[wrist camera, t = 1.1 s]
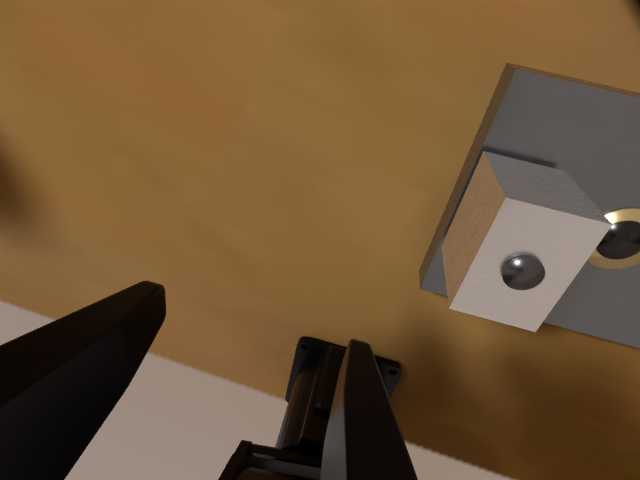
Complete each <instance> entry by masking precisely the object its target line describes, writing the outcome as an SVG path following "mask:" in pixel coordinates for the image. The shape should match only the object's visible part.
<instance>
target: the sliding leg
mask: <svg viewBox="0 0 640 480" xmlns="http://www.w3.org/2000/svg"><path fill="white" fill-rule="evenodd" d="M612 225H613V224H612V223H611V222H610V221H609V220H608V219H607V218H606V216H605V215H604V214H603V213H602V212H601V211H600V210H599V209H598V207H597V206H596V205H595V204H594V203H593V202H592V201H591V200H590V199H589V197H588V196H587V195H586V194H585V193H584V192H583V191H582V190H581V188H580V187H579V186H578V185H577V184H576V183H575V182H574V181H573V179H572V178H571V177H570V176H569V175H568V174H567V173H566V172H565V171H563V170H559V169H555V168H551V167H547V166H543V165H539V164H535V163H530V162H526V161H522V160H518V159H514V158H510V157H506V156H502V155H498V154H494V153H490V152H486V151H483V153H482V156H481V158H480V160H479V162H478V165H477V167H476V169H475V171H474V174H473V176H472V178H471V181H470V183H469V185H468V187H467V190H466V192H465V194H464V196H463V199H462V201H461V203H460V205H459V208H458V210H457V212H456V214H455V217H454V219H453V221H452V224H451V226H450V228H449V230H448V233H447V235H446V237H445V239H444V242H443V244H442V246H441V248H442V256H443V264H444V272H445V280H446V288H447V296H448V304H449V309H453V310H456V311H460V312H464V313H467V314H471V315H475V316H478V317H482V318H486V319H489V320H493V321H497V322H500V323H504V324H508V325H511V326H515V327H519V328H522V329H526V330H530V331H533V332H536V331H537V329H538V328H539V327H540V325H541V324H542V322H543V321H544V320H545V318H546V317H547V315H548V314H549V313H550V311H551V310H552V308H553V307H554V306H555V304H556V303H557V301H558V300H559V299H560V297H561V296H562V295H563V293H564V292H565V290H566V289H567V288H568V286H569V285H570V283H571V282H572V281H573V279H574V278H575V276H576V275H577V274H578V272H579V271H580V269H581V268H582V267H583V265H584V264H585V262H586V261H587V260H588V258H589V257H590V256H591V254H592V253H593V251H594V250H595V249H596V247H597V246H598V244H599V243H600V242H601V240H602V239H603V237H604V236H605V235H606V233H607V232H608V230H609V229H610V228H611V226H612Z"/></svg>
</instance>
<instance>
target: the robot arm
mask: <svg viewBox="0 0 640 480" xmlns="http://www.w3.org/2000/svg"><path fill="white" fill-rule="evenodd" d="M165 316H166V299H165V288H164V286H163V285H161V284H158V283H154V282H151V281H142V282H140V283H137V284H135V285H133V286H131V287H128V288H126V289H124V290H122V291H120V292H117V293H115V294H113V295H111V296H109V297H106V298H104V299H102V300H100V301H98V302H95V303H93V304H91V305H89V306H86V307H84V308H82V309H80V310H78V311H75V312H73V313H71V314H69V315H67V316H64V317H62V318H60V319H58V320H56V321H53V322H51V323H49V324H47V325H44V326H42V327H40V328H38V329H36V330H33V331H31V332H29V333H27V334H25V335H22V336H20V337H18V338H16V339H14V340H11V341H9V342H7V343H5V344H2V345H0V480H64V479H65V478H66V476H67V475H68V473H69V472H70V471H71V469H72V468H73V466H74V465H75V463H76V462H77V460H78V459H79V457H80V456H81V455H82V453H83V452H84V450H85V449H86V447H87V446H88V444H89V443H90V441H91V440H92V439H93V437H94V436H95V434H96V433H97V431H98V430H99V428H100V427H101V426H102V424H103V422H104V421H105V420H106V418H107V417H108V415H109V414H110V412H111V411H112V410H113V408H114V407H115V405H116V403H117V402H118V401H119V399H120V398H121V396H122V395H123V393H124V392H125V390H126V389H127V387H128V386H129V384H130V382H131V381H132V379H133V377H134V375H135V374H136V372H137V370H138V368H139V366H140V365H141V363H142V361H143V359H144V357H145V355H146V353H147V352H148V350H149V348H150V346H151V344H152V342H153V341H154V339H155V337H156V335H157V333H158V331H159V330H160V328H161V326H162V324H163V322H164V319H165ZM305 344H306V345H305ZM391 369H393V370H391ZM400 376H401V365H400V364H399V363H397V362H394V361H391V360H387V359H384V358H380V357H377V356H374V354H373V351H372V349H371V346H370V345H369V344H368V343H366V342H363V341H359V340H356V339H351V340H350V341H349V344H348V346H347V348H345V347H342V346H338V345H335V344H331V343H328V342H324V341H320V340H317V339H313V338H310V337H301V338H300V339H299V341H298V344H297V348H296V353H295V357H294V362H293V366H292V371H291V375H290V380H289V384H288V388H287V393H286V397H285V399H286V401H287V402H288V406H287V409H286V413H285V416H284V419H283V423H282V426H281V429H280V433H279V436H278V440H277V443H276V446H275V448H274V447H268V446H262V445H257V444H252V442H250V441H245V440H242V441H241V442H240V444H239V446H238V448H237V449H236V451H235V453H234V454H233V455H232V456H231V458H230V460H229V462H228V463H227V465H226V467H225V469H224V470H223V472H222V474H221V476H220V478H219V479H218V480H418V479H417V476H416V473H415V470H414V467H413V465H412V462H411V459H410V456H409V453H408V450H407V448H406V445H405V442H404V439H403V436H402V433H401V431H400V428H399V425H398V422H397V419H396V416H395V414H394V411H393V408H392V405H391V402H390V400H389V399H390V397H391V394H392V392H393V390H394V388H395V386H396V384H397V382H398V380H399V378H400Z"/></svg>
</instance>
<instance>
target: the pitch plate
mask: <svg viewBox="0 0 640 480" xmlns="http://www.w3.org/2000/svg"><path fill="white" fill-rule="evenodd" d="M483 151H486V152H490V153H494V154H498V155H502V156H506V157H510V158H514V159H518V160H522V161H526V162H530V163H535V164H539V165H543V166H547V167H551V168H555V169H559V170H563V171H565V172H566V173H567V174H568V175H569V176H570V177H571V178H572V179H573V181H574V182H575V183H576V184H577V185H578V186H579V187H580V188H581V190H582V191H583V192H584V193H585V194H586V195H587V196H588V197H589V199H590V200H591V201H592V202H593V203H594V204H595V205H596V206H597V207H598V209H599V210H600V211H601V212H602V213H603V214H604V215H605V216H606V218H607V219H608V220H609V221H610V222H611V223H612V224H613V225H612V226H611V228H610V229H609V230H608V232H607V233H606V235H605V236H604V237H603V239H602V240H601V242H600V243H599V244H598V246H597V247H596V249H595V250H594V251H593V253H592V254H591V256H590V257H589V258H588V260H587V261H586V262H585V264H584V265H583V267H582V268H581V269H580V271H579V272H578V274H577V275H576V276H575V278H574V279H573V281H572V282H571V283H570V285H569V286H568V288H567V289H566V290H565V292H564V293H563V295H562V296H561V297H560V299H559V300H558V301H557V303H556V304H555V306H554V307H553V308H552V310H551V311H550V313H549V314H548V315H547V317H546V318H545V320H544V321H543V322H544V323H547V324H551V325H555V326H558V327H562V328H566V329H570V330H573V331H577V332H581V333H584V334H588V335H592V336H595V337H599V338H603V339H606V340H610V341H614V342H617V343H621V344H625V345H629V346H632V347H636V348H640V94H639V93H635V92H631V91H626V90H622V89H618V88H613V87H609V86H605V85H600V84H596V83H592V82H587V81H583V80H579V79H574V78H570V77H566V76H561V75H557V74H553V73H548V72H544V71H540V70H535V69H531V68H527V67H522V66H518V65H514V64H509V63H507V64H506V66H505V69H504V71H503V73H502V76H501V78H500V80H499V83H498V85H497V88H496V90H495V92H494V95H493V97H492V99H491V102H490V104H489V107H488V109H487V111H486V114H485V116H484V118H483V121H482V123H481V126H480V128H479V130H478V133H477V135H476V137H475V140H474V142H473V145H472V147H471V149H470V152H469V154H468V156H467V159H466V161H465V164H464V166H463V168H462V171H461V173H460V175H459V178H458V180H457V183H456V185H455V187H454V190H453V192H452V194H451V197H450V199H449V202H448V204H447V206H446V209H445V211H444V213H443V216H442V218H441V221H440V223H439V225H438V228H437V230H436V232H435V235H434V237H433V240H432V242H431V244H430V247H429V249H428V252H427V254H426V256H425V259H424V261H423V263H422V266H421V268H420V271H419V272H420V289H422V290H426V291H429V292H433V293H437V294H440V295H444V296H447V288H446V280H445V272H444V264H443V256H442V248H441V246H442V244H443V242H444V239H445V237H446V235H447V233H448V230H449V228H450V226H451V224H452V221H453V219H454V217H455V214H456V212H457V210H458V208H459V205H460V203H461V201H462V199H463V196H464V194H465V192H466V190H467V187H468V185H469V183H470V181H471V178H472V176H473V174H474V171H475V169H476V167H477V165H478V162H479V160H480V158H481V156H482V153H483Z"/></svg>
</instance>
